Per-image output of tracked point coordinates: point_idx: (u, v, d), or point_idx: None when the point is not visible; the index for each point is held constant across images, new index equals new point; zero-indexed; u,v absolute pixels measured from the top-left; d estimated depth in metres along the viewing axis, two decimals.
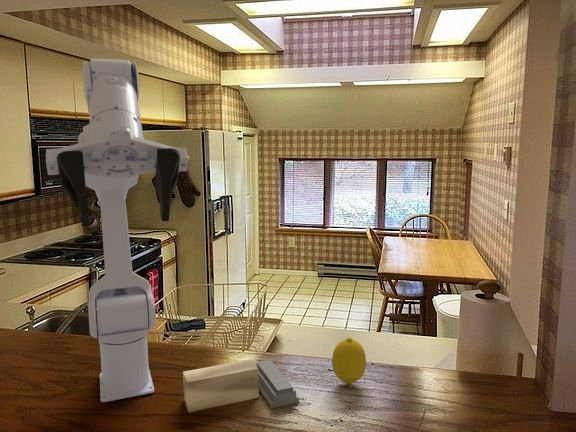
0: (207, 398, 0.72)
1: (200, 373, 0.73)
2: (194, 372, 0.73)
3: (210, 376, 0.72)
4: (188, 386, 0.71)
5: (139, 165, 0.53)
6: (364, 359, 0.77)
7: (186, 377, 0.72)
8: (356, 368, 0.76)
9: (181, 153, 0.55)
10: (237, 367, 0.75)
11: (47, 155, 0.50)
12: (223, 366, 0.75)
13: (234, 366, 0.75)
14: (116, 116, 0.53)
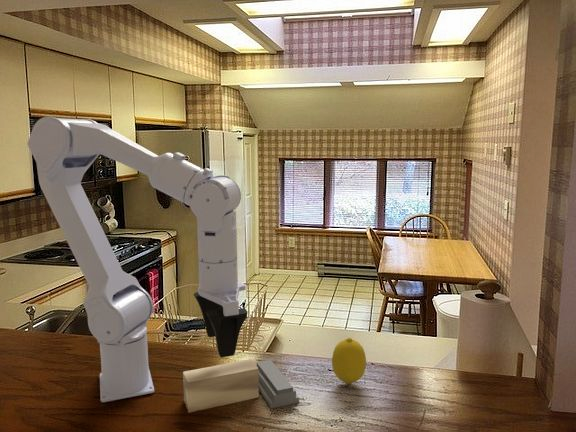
0: (208, 398, 0.72)
1: (200, 374, 0.73)
2: (194, 372, 0.73)
3: (210, 376, 0.72)
4: (188, 386, 0.71)
5: None
6: (364, 359, 0.77)
7: (186, 377, 0.72)
8: (356, 368, 0.76)
9: None
10: (237, 367, 0.75)
11: (238, 308, 0.66)
12: (223, 366, 0.75)
13: (234, 366, 0.75)
14: None
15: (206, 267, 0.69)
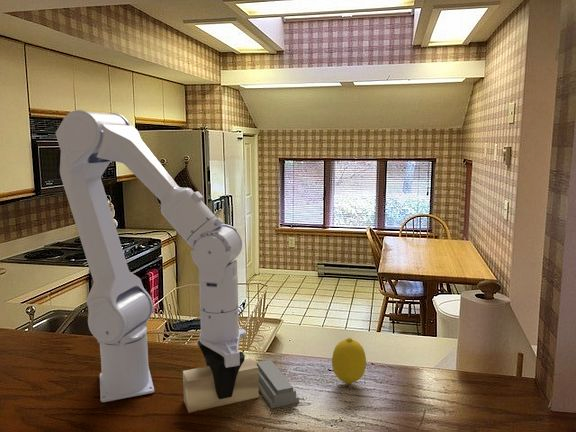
0: (208, 397, 0.72)
1: (200, 373, 0.73)
2: (194, 371, 0.73)
3: (210, 376, 0.72)
4: (188, 385, 0.71)
5: None
6: (364, 359, 0.77)
7: (186, 376, 0.72)
8: (356, 368, 0.76)
9: None
10: None
11: (239, 359, 0.67)
12: None
13: None
14: None
15: (208, 316, 0.70)
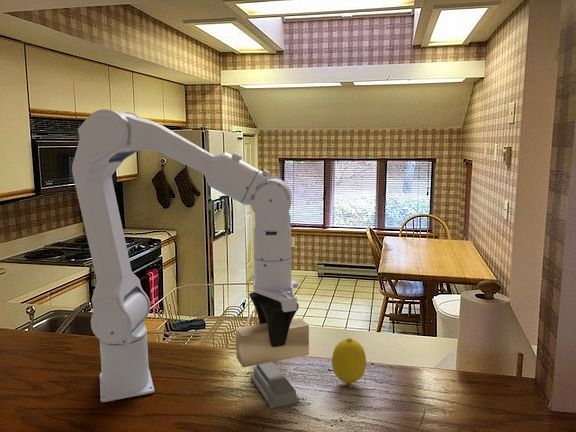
0: (261, 352, 0.74)
1: (253, 329, 0.75)
2: (247, 328, 0.75)
3: (263, 332, 0.74)
4: (243, 340, 0.72)
5: None
6: (364, 359, 0.77)
7: (240, 332, 0.74)
8: (356, 368, 0.76)
9: None
10: None
11: (296, 304, 0.69)
12: None
13: None
14: None
15: (263, 265, 0.72)
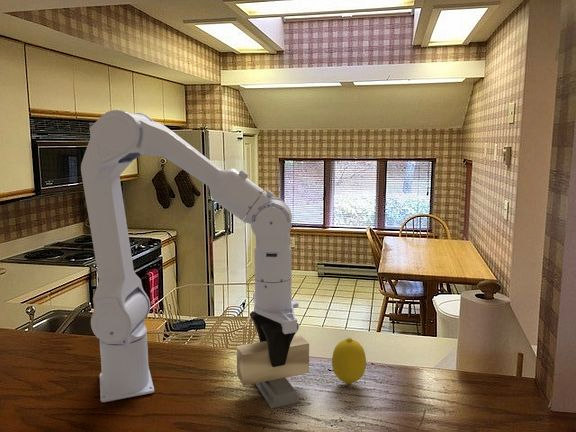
0: (261, 371, 0.74)
1: (253, 348, 0.75)
2: (247, 346, 0.76)
3: (264, 350, 0.74)
4: (243, 359, 0.73)
5: None
6: (364, 359, 0.77)
7: (241, 351, 0.74)
8: (356, 368, 0.76)
9: None
10: None
11: (296, 326, 0.69)
12: None
13: None
14: None
15: (263, 286, 0.72)
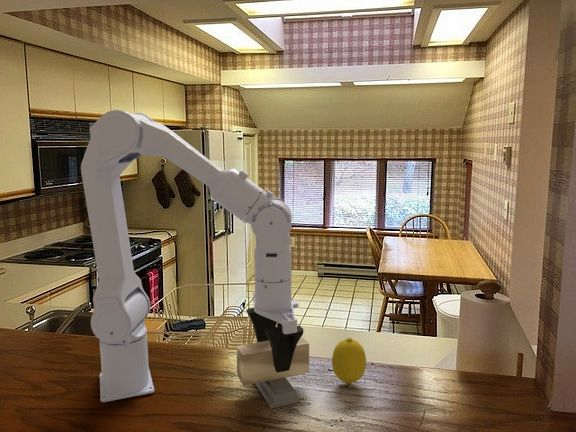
0: (261, 371, 0.74)
1: (253, 348, 0.75)
2: (247, 346, 0.76)
3: (264, 350, 0.74)
4: (244, 359, 0.73)
5: None
6: (364, 359, 0.77)
7: (241, 351, 0.74)
8: (356, 368, 0.76)
9: None
10: None
11: (296, 326, 0.69)
12: None
13: None
14: None
15: (263, 286, 0.72)
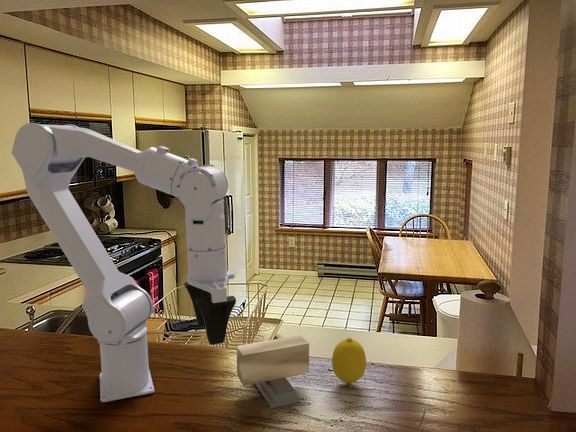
0: (261, 371, 0.74)
1: (253, 348, 0.75)
2: (247, 346, 0.76)
3: (264, 350, 0.74)
4: (244, 359, 0.73)
5: None
6: (364, 359, 0.77)
7: (241, 351, 0.74)
8: (356, 368, 0.76)
9: None
10: (288, 342, 0.77)
11: (226, 294, 0.67)
12: (274, 341, 0.77)
13: (285, 341, 0.77)
14: None
15: (194, 255, 0.70)
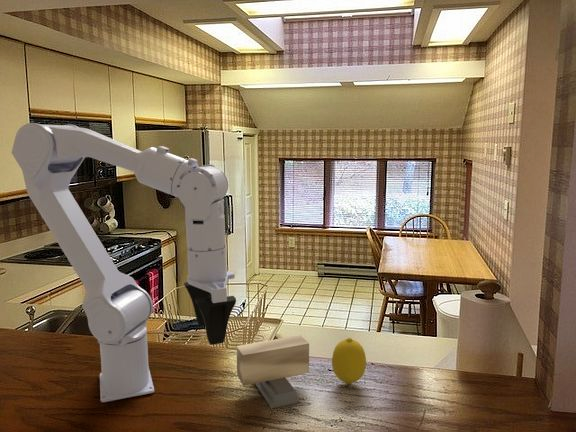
0: (261, 371, 0.74)
1: (253, 348, 0.75)
2: (247, 346, 0.76)
3: (264, 350, 0.74)
4: (244, 359, 0.73)
5: None
6: (364, 359, 0.77)
7: (241, 351, 0.74)
8: (356, 368, 0.76)
9: None
10: (288, 342, 0.77)
11: (226, 294, 0.67)
12: (274, 341, 0.77)
13: (285, 341, 0.77)
14: None
15: (194, 255, 0.70)
